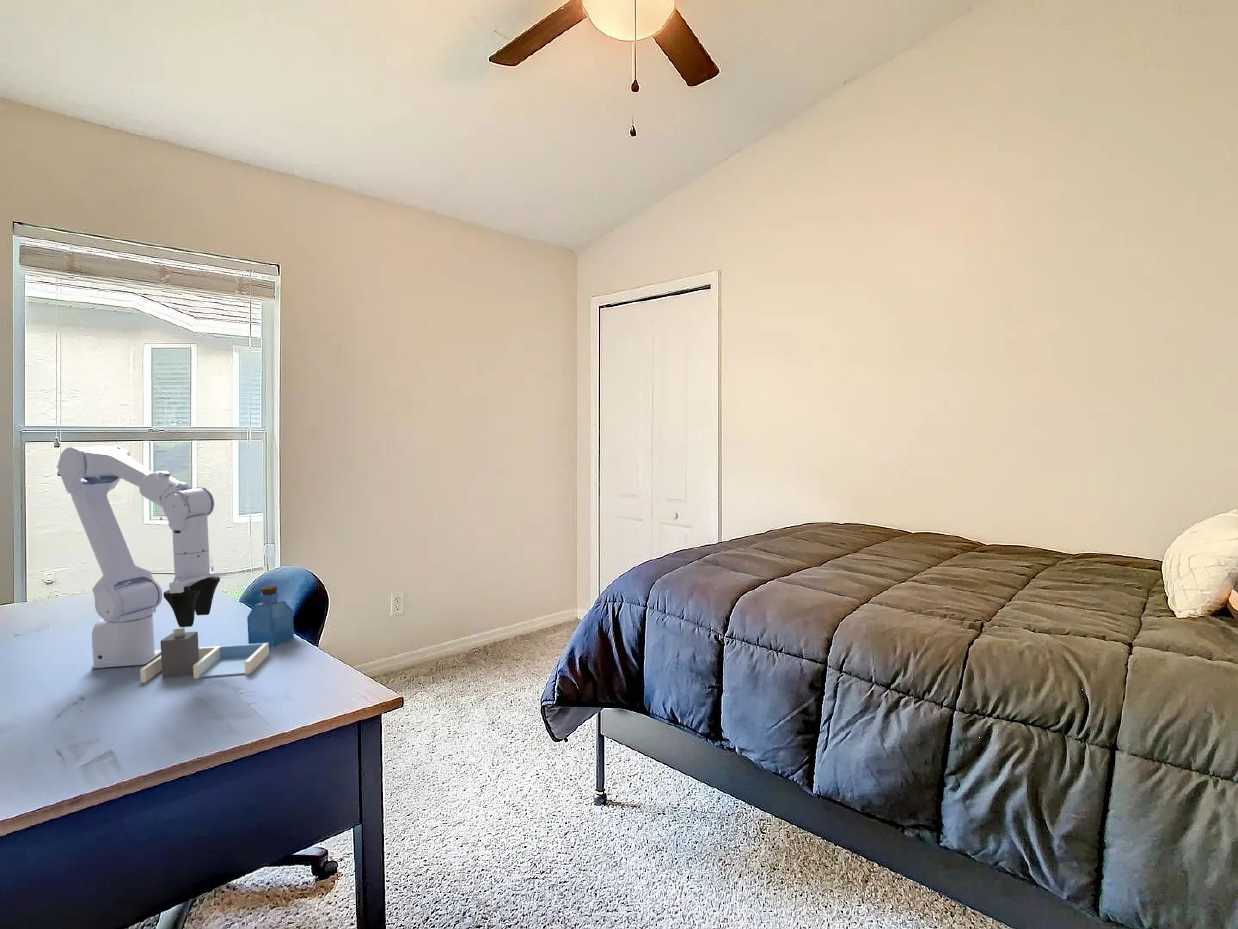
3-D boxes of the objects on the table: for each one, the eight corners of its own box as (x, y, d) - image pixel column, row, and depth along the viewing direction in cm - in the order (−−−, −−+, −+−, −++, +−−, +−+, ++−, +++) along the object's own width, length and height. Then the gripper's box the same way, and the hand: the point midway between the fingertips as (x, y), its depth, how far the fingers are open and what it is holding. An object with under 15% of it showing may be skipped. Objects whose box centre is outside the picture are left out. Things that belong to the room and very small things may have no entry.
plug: (162, 677, 122) (159, 633, 121) (174, 668, 126) (171, 625, 126) (188, 675, 123) (186, 631, 122) (199, 666, 127) (197, 624, 126)
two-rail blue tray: (140, 682, 119) (140, 669, 119) (169, 661, 130) (168, 649, 129) (249, 674, 123) (249, 661, 122) (269, 654, 133) (268, 642, 133)
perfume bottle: (273, 647, 138) (271, 591, 137) (248, 645, 139) (245, 590, 138) (293, 637, 144) (291, 584, 143) (269, 636, 145) (267, 583, 144)
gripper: (198, 558, 118) (201, 630, 119) (228, 543, 133) (231, 608, 133) (154, 559, 117) (158, 633, 118) (190, 545, 131) (193, 610, 132)
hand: (194, 620), depth 126 cm, fingers open, 7 cm apart
